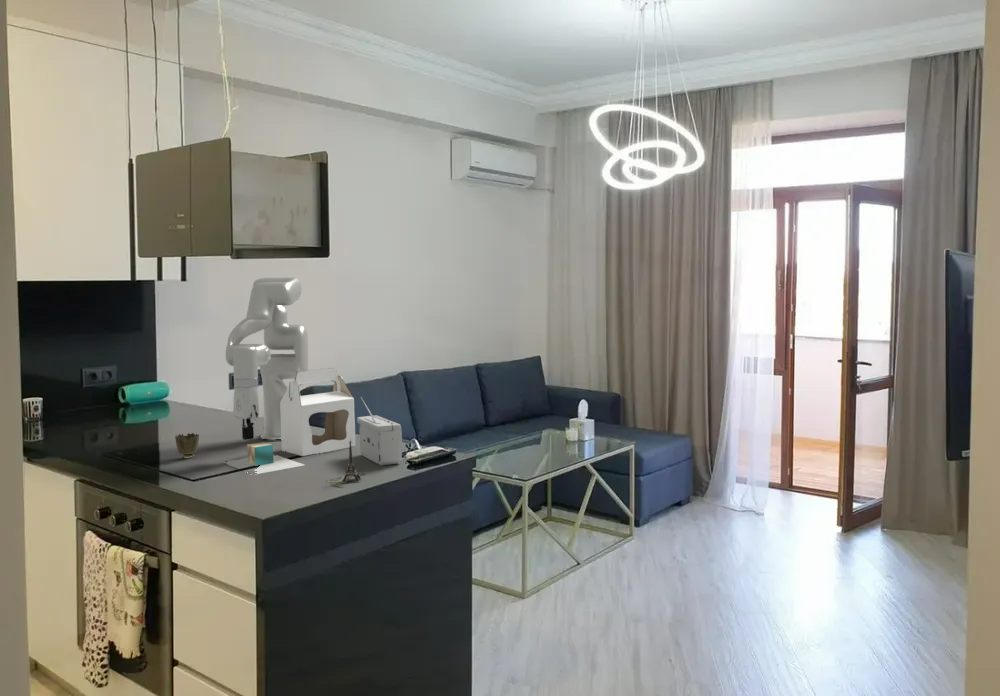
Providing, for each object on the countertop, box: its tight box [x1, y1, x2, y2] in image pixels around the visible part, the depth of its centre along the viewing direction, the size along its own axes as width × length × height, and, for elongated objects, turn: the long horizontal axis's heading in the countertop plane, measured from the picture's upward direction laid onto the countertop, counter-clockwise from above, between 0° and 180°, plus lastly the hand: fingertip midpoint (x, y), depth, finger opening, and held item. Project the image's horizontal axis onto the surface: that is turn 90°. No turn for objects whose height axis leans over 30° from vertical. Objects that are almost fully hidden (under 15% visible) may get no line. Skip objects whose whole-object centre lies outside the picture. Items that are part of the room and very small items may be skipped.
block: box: [246, 441, 274, 466], centre depth 257 cm, size 6×6×6 cm
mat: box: [246, 454, 305, 476], centre depth 257 cm, size 24×18×1 cm
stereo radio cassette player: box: [356, 396, 403, 467], centre depth 261 cm, size 21×8×20 cm, turn 30°
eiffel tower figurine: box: [325, 441, 367, 488], centre depth 235 cm, size 15×10×13 cm
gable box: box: [280, 367, 356, 457], centre depth 278 cm, size 22×13×28 cm, turn 137°
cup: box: [174, 432, 200, 457], centre depth 267 cm, size 8×7×8 cm
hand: (248, 438), depth 263 cm, fingers closed
